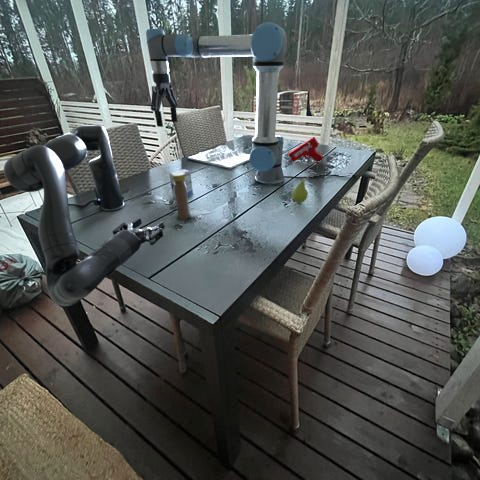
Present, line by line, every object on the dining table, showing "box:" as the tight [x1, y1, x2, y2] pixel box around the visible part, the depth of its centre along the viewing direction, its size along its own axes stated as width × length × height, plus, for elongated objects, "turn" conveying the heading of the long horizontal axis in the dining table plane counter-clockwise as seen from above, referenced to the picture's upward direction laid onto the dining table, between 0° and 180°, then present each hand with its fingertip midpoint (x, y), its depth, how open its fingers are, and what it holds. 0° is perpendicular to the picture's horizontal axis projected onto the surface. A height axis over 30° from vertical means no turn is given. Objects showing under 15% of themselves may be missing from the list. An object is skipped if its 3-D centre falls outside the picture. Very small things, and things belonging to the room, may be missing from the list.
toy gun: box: [288, 136, 324, 164], centre depth 170 cm, size 18×4×15 cm
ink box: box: [168, 168, 194, 200], centre depth 124 cm, size 8×5×12 cm, turn 135°
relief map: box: [188, 144, 250, 170], centre depth 178 cm, size 27×35×5 cm
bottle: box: [174, 180, 191, 220], centre depth 106 cm, size 5×5×18 cm
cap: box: [172, 171, 185, 181], centre depth 101 cm, size 4×4×2 cm
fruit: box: [291, 174, 311, 204], centre depth 118 cm, size 7×8×12 cm
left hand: (151, 222), depth 88 cm, fingers open, 8 cm apart
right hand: (167, 124), depth 132 cm, fingers open, 13 cm apart
